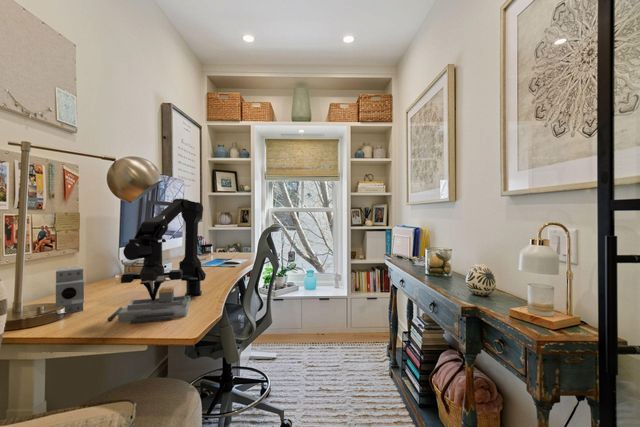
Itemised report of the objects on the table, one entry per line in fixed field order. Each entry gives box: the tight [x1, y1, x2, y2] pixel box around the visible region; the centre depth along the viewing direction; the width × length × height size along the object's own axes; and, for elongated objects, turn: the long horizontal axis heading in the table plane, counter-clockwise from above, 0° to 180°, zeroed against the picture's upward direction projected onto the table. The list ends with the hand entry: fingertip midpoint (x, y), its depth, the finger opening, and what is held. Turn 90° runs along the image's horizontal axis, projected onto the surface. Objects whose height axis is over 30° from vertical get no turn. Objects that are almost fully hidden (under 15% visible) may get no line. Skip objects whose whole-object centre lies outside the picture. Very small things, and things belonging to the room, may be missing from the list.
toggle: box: [158, 286, 175, 302], centre depth 111 cm, size 5×4×5 cm
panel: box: [117, 295, 191, 323], centre depth 110 cm, size 16×20×4 cm
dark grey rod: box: [107, 306, 124, 322], centre depth 107 cm, size 12×1×1 cm, turn 18°
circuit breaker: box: [55, 266, 85, 314], centre depth 111 cm, size 8×14×15 cm, turn 39°
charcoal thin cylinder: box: [129, 316, 173, 325], centre depth 100 cm, size 12×1×1 cm, turn 108°
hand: (153, 300), depth 110 cm, fingers closed
